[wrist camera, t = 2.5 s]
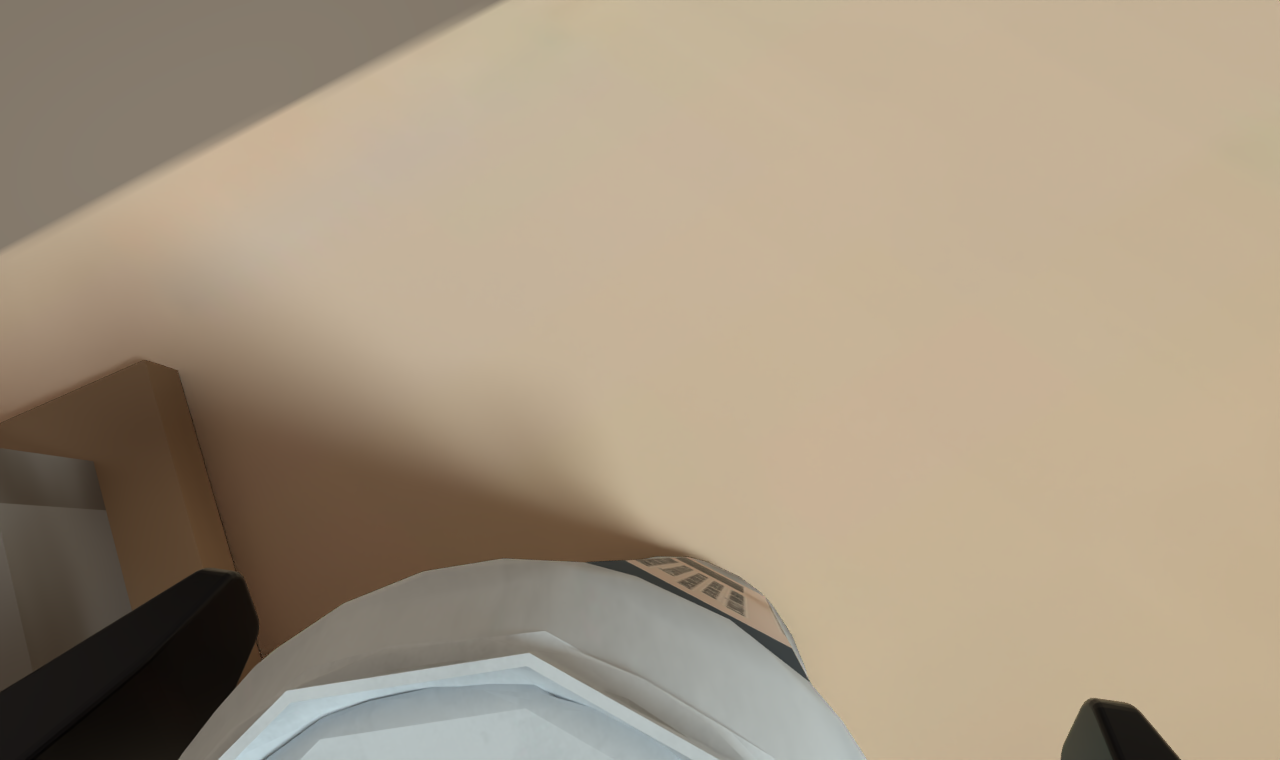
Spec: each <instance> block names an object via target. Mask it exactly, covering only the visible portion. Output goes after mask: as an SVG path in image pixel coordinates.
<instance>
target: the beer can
mask: <svg viewBox="0 0 1280 760" xmlns="http://www.w3.org/2000/svg"><path fill="white" fill-rule="evenodd" d="M179 760H867V759H866V757H865V756H864V754H863V753H862V751H861V749H860V748H859V746H858V745H857V743H856V742H855V740H854V738H853V737H852V735H851V734H850V732H849V731H848V729H847V727H846V726H845V724H844V723H843V721H842V720H841V719H840V718H839V716H838V715H837V714H836V713H835V712H834V711H833V709H832V708H831V707H830V706H829V705H828V703H827V702H826V701H825V700H824V699H823V697H822V696H821V695H820V694H819V693H818V692H817V690H816V689H815V688H814V687H813V686H812V684H811V682H810V680H809V678H808V676H807V673H806V669H805V666H804V663H803V661H802V659H801V656H800V654H799V651H798V649H797V646H796V644H795V642H794V639H793V637H792V635H791V633H790V631H789V630H788V628H787V627H786V625H785V624H784V622H783V621H782V619H781V617H780V616H779V614H778V613H777V611H776V610H775V608H774V607H773V605H772V604H771V603H770V602H769V601H768V599H767V598H766V597H765V596H764V595H763V594H762V593H761V592H759V591H758V590H757V589H755V588H754V587H753V586H751V585H750V584H749V583H747V582H746V581H745V580H743V579H742V578H741V577H739V576H737V575H735V574H733V573H731V572H728V571H726V570H724V569H722V568H719V567H717V566H715V565H713V564H711V563H708V562H706V561H702V560H698V559H694V558H690V557H660V556H656V557H651V558H646V559H640V560H619V561H599V562H569V561H548V560H527V559H506V558H503V559H496V560H490V561H484V562H478V563H472V564H465V565H459V566H453V567H447V568H441V569H435V570H428V571H423V572H420V573H418V574H415V575H413V576H410V577H408V578H405V579H403V580H400V581H398V582H395V583H393V584H390V585H388V586H386V587H383V588H381V589H378V590H376V591H373V592H371V593H368V594H366V595H363V596H361V597H358V598H356V599H353V600H351V601H348V602H346V603H343V604H342V605H340V606H339V607H337V608H336V609H334V610H333V611H331V612H330V613H328V614H327V615H325V616H324V617H322V618H321V619H319V620H318V621H316V622H315V623H313V624H312V625H311V626H309V627H308V628H306V629H305V630H303V631H302V632H300V633H299V634H297V635H296V636H294V637H293V638H291V639H290V640H288V641H287V642H285V643H284V644H282V645H281V646H279V647H278V648H276V649H275V650H274V651H273V652H271V653H270V654H269V655H268V656H267V657H265V658H264V659H263V660H262V661H261V662H259V663H258V664H257V665H256V666H255V667H254V668H253V669H252V670H251V671H250V672H249V673H248V675H247V676H246V677H245V678H244V679H243V680H242V681H241V682H240V684H239V685H238V686H237V687H236V688H235V689H234V690H233V691H232V693H231V694H230V695H229V696H228V697H227V698H226V699H225V701H224V702H223V703H222V704H221V705H220V706H219V707H218V708H217V710H216V711H215V712H214V714H213V715H212V716H211V717H210V719H209V720H208V721H207V723H206V724H205V725H204V726H203V728H202V729H201V730H200V732H199V733H198V734H197V735H196V737H195V738H194V739H193V741H192V742H191V743H190V744H189V746H188V747H187V748H186V750H185V751H184V752H183V753H182V755H181V756H180V758H179Z"/></svg>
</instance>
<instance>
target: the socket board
mask: <svg viewBox="0 0 1280 760" xmlns="http://www.w3.org/2000/svg"><path fill="white" fill-rule="evenodd" d="M203 568H218V569H225V570H232V571H235V568H234V564H233V561H232V557H231V554H230V550H229V547H228V543H227V540H226V537H225V533H224V530H223V526H222V523H221V519H220V516H219V512H218V509H217V506H216V502H215V499H214V495H213V492H212V488H211V485H210V481H209V478H208V474H207V471H206V468H205V464H204V461H203V457H202V454H201V450H200V447H199V443H198V440H197V436H196V433H195V430H194V426H193V423H192V419H191V416H190V412H189V409H188V405H187V402H186V399H185V395H184V392H183V388H182V385H181V381H180V378H179V374H178V371H177V370H175V369H172V368H168V367H165V366H162V365H159V364H156V363H153V362H150V361H147V360H143V361H141V362H138V363H136V364H134V365H132V366H129V367H127V368H125V369H122V370H120V371H118V372H116V373H113V374H111V375H109V376H107V377H104V378H102V379H100V380H97V381H95V382H93V383H91V384H88V385H86V386H84V387H82V388H79V389H77V390H75V391H72V392H70V393H68V394H66V395H63V396H61V397H59V398H56V399H54V400H52V401H50V402H47V403H45V404H43V405H41V406H38V407H36V408H34V409H31V410H29V411H27V412H25V413H22V414H20V415H18V416H16V417H13V418H11V419H9V420H6V421H4V422H2V423H0V692H1V691H2V690H4V689H6V688H7V687H9V686H10V685H12V684H14V683H15V682H17V681H19V680H20V679H22V678H23V677H25V676H27V675H28V674H30V673H32V672H33V671H35V670H36V669H38V668H40V667H41V666H43V665H45V664H46V663H48V662H49V661H51V660H53V659H54V658H56V657H58V656H59V655H61V654H62V653H64V652H66V651H67V650H69V649H71V648H72V647H74V646H76V645H77V644H79V643H80V642H82V641H84V640H85V639H87V638H89V637H90V636H92V635H93V634H95V633H97V632H98V631H100V630H102V629H103V628H105V627H106V626H108V625H110V624H111V623H113V622H115V621H116V620H118V619H119V618H121V617H123V616H124V615H126V614H128V613H129V612H131V611H132V610H134V609H136V608H137V607H139V606H141V605H142V604H144V603H145V602H147V601H149V600H150V599H152V598H154V597H155V596H157V595H158V594H160V593H162V592H163V591H165V590H167V589H168V588H170V587H171V586H173V585H175V584H176V583H178V582H180V581H181V580H183V579H184V578H186V577H188V576H189V575H191V574H193V573H194V572H196V571H198V570H200V569H203ZM259 662H261V657H260V654H259V650H258V647H257V644H256V642H255V645H254V647H253V649H252V652H251V654H250V656H249V659H248V661H247V663H246V666H245V668H244V670H243V673H242V675H241V677H240V680H239V682H238V684H237V686H238V685H239V684H240V682H241V681H242V680H243V679H244V678H245V677H246V676H247V675H248V673H249V672H250V671H251V670H252V669H253V668H254V667H255V666H256V665H257V664H258V663H259Z"/></svg>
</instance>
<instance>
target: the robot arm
mask: <svg viewBox="0 0 1280 760" xmlns="http://www.w3.org/2000/svg"><path fill="white" fill-rule="evenodd" d="M258 631H259V619H258V616H257V613H256V610H255V607H254V604H253V601H252V598H251V596H250V593H249V590H248V587H247V584H246V581H245V579H244V577H243V576H242V575H241V574H240V573H239V572H236V571H232V570H225V569H218V568H203V569H200V570H198V571H196V572H194V573H193V574H191V575H189V576H188V577H186V578H184V579H183V580H181V581H180V582H178V583H176V584H175V585H173V586H171V587H170V588H168V589H167V590H165V591H163V592H162V593H160V594H158V595H157V596H155V597H154V598H152V599H150V600H149V601H147V602H145V603H144V604H142V605H141V606H139V607H137V608H136V609H134V610H132V611H131V612H129V613H128V614H126V615H124V616H123V617H121V618H119V619H118V620H116V621H115V622H113V623H111V624H110V625H108V626H106V627H105V628H103V629H102V630H100V631H98V632H97V633H95V634H93V635H92V636H90V637H89V638H87V639H85V640H84V641H82V642H80V643H79V644H77V645H76V646H74V647H72V648H71V649H69V650H67V651H66V652H64V653H62V654H61V655H59V656H58V657H56V658H54V659H53V660H51V661H49V662H48V663H46V664H45V665H43V666H41V667H40V668H38V669H36V670H35V671H33V672H32V673H30V674H28V675H27V676H25V677H23V678H22V679H20V680H19V681H17V682H15V683H14V684H12V685H10V686H9V687H7V688H6V689H4V690H2V691H1V692H0V760H179V758H180V756H181V755H182V753H183V752H184V751H185V750H186V748H187V747H188V746H189V744H190V743H191V742H192V741H193V739H194V738H195V737H196V735H197V734H198V733H199V732H200V730H201V729H202V728H203V726H204V725H205V724H206V723H207V721H208V720H209V719H210V717H211V716H212V715H213V714H214V712H215V711H216V710H217V708H218V707H219V706H220V705H221V704H222V703H223V702H224V701H225V699H226V698H227V697H228V696H229V695H230V694H231V693H232V691H233V690H234V689H235V688H236V687H237V684H238V682H239V680H240V677H241V675H242V673H243V670H244V668H245V666H246V663H247V661H248V659H249V656H250V654H251V652H252V649H253V647H254V645H255V642H256V639H257V636H258ZM1061 760H1181V759H1180V758H1179V757H1178V756H1177V755H1176V753H1175V752H1174V751H1173V750H1172V749H1171V747H1170V746H1169V745H1168V744H1167V743H1166V741H1165V740H1164V739H1163V738H1162V737H1161V736H1160V734H1159V733H1158V732H1157V731H1156V730H1155V728H1154V727H1153V726H1152V725H1151V724H1150V722H1149V721H1148V720H1147V719H1146V718H1145V717H1144V715H1143V714H1142V713H1141V712H1140V711H1139V710H1138V709H1137V708H1135V707H1134V706H1132V705H1131V704H1128V703H1125V702H1118V701H1111V700H1105V699H1098V698H1090V699H1088V700H1087V701H1085V702H1084V704H1083V705H1082V707H1081V709H1080V711H1079V713H1078V715H1077V717H1076V719H1075V721H1074V724H1073V726H1072V728H1071V730H1070V732H1069V734H1068V736H1067V738H1066V740H1065V742H1064V745H1063V748H1062V753H1061Z"/></svg>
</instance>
